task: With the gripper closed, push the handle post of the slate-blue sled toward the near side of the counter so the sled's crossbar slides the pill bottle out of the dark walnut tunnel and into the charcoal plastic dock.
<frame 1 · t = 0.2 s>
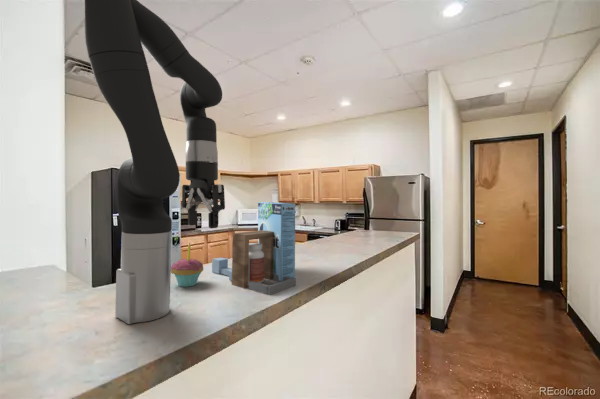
hand: (202, 226, 72), 17 cm above the countertop, tool pointing down, fingers open, 8 cm apart
pill bottle: (253, 282, 85), on the countertop
tunnel: (253, 281, 85), on the countertop
sled: (229, 267, 92), point 2 cm above the countertop, slide at 0.0 cm
light blue upright box: (274, 273, 94), on the countertop, touching dock, tunnel
cupcake: (186, 284, 81), on the countertop
dock: (272, 286, 81), on the countertop
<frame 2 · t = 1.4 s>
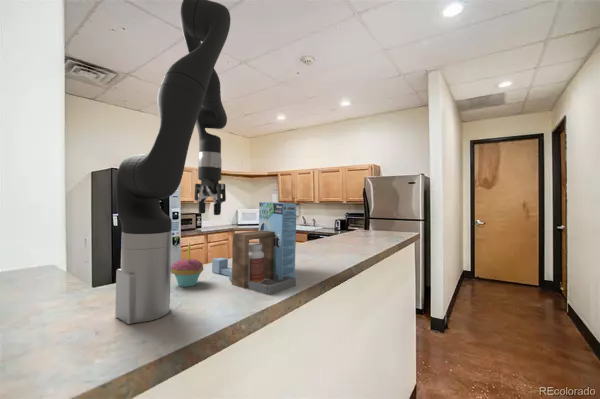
hand: (209, 214, 98), 19 cm above the countertop, tool pointing down, fingers open, 8 cm apart
nothing on the countertop moved.
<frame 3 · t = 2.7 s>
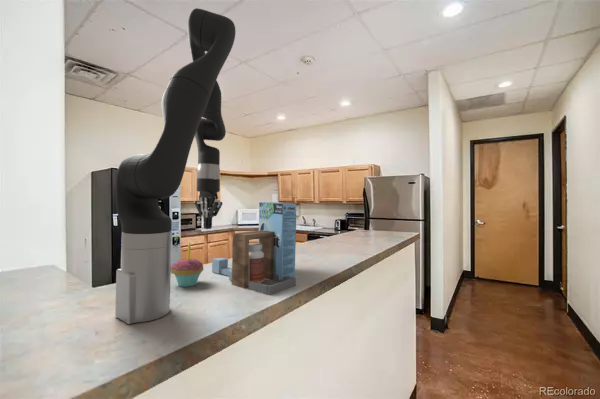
hand: (207, 228, 99), 14 cm above the countertop, tool pointing down, fingers closed
nothing on the countertop moved.
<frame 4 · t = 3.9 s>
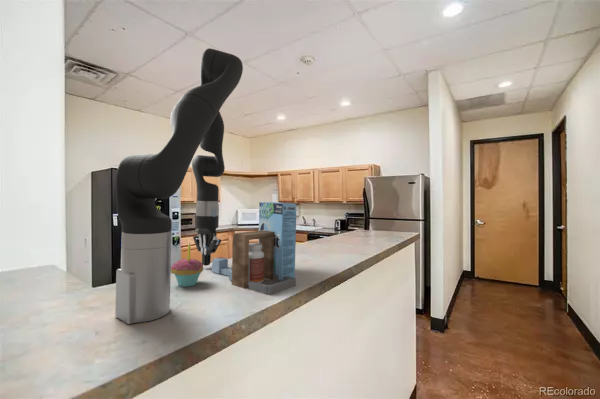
hand: (206, 264, 99), 1 cm above the countertop, tool pointing down, fingers closed
nothing on the countertop moved.
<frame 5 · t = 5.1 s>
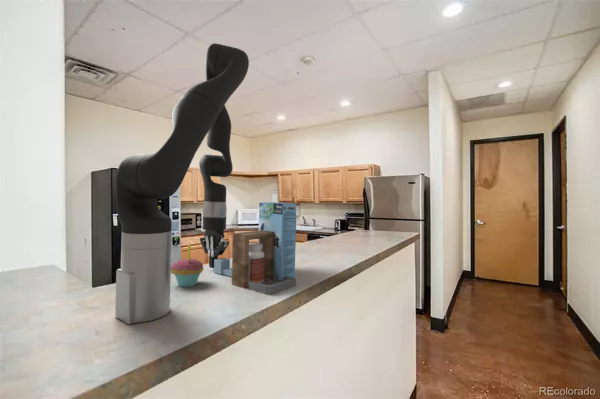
hand: (213, 267, 96), 1 cm above the countertop, tool pointing down, fingers closed
sled: (231, 268, 91), point 2 cm above the countertop, slide at 1.0 cm, touching gripper
everything else where it was.
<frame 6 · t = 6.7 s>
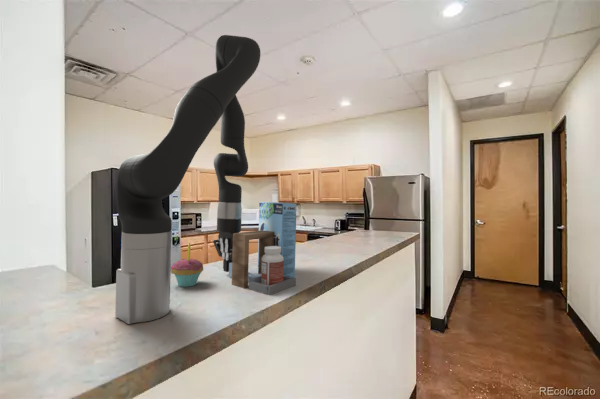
hand: (227, 271, 92), 1 cm above the countertop, tool pointing down, fingers closed
pill bottle: (271, 287, 81), on the countertop, touching dock, sled
sled: (248, 272, 87), point 2 cm above the countertop, slide at 8.3 cm, touching gripper, pill bottle
everything else where it was.
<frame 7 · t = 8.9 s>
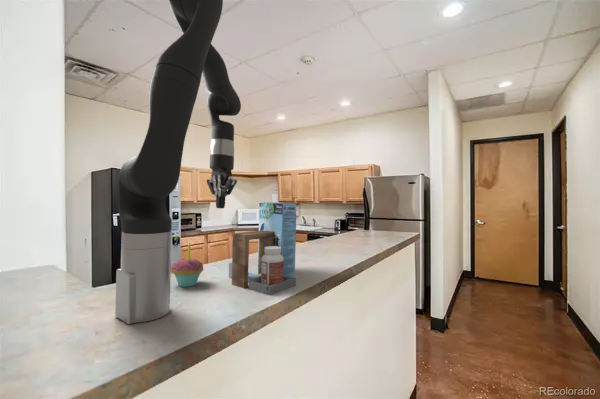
hand: (220, 208, 94), 21 cm above the countertop, tool pointing down, fingers closed
pill bottle: (271, 287, 81), on the countertop
sled: (248, 272, 87), point 2 cm above the countertop, slide at 8.3 cm
everything else where it was.
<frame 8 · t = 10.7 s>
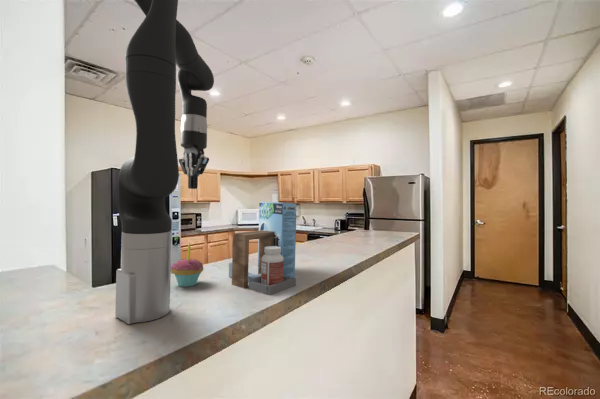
hand: (192, 188, 89), 27 cm above the countertop, tool pointing down, fingers closed
nothing on the countertop moved.
at the end: pill bottle inside the target area (0.6 cm from its centre), on the countertop; pill bottle tilted 0°; sled slide at 8.3 cm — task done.
